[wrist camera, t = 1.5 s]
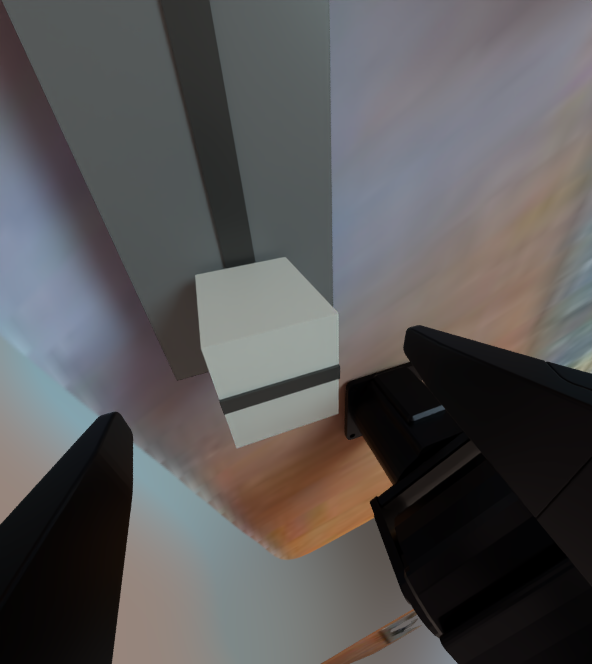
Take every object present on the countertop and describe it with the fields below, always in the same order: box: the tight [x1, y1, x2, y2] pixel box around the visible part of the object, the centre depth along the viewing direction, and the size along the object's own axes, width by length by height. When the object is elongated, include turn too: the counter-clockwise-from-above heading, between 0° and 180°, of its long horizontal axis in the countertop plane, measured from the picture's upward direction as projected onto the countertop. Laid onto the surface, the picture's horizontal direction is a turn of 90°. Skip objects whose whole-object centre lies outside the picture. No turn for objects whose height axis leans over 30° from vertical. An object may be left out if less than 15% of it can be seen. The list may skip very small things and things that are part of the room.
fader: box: [195, 257, 340, 448], centre depth 10 cm, size 4×4×5 cm
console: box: [2, 0, 333, 381], centre depth 9 cm, size 18×8×2 cm, turn 5°
